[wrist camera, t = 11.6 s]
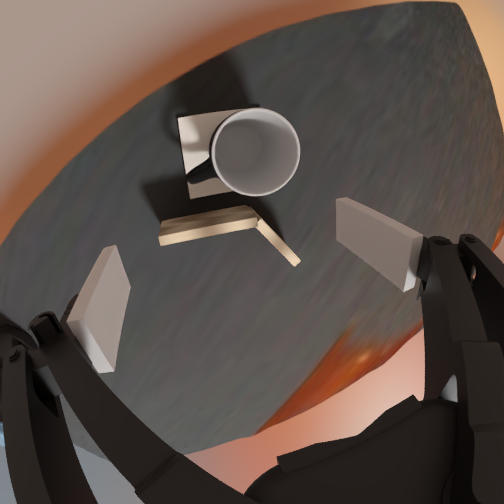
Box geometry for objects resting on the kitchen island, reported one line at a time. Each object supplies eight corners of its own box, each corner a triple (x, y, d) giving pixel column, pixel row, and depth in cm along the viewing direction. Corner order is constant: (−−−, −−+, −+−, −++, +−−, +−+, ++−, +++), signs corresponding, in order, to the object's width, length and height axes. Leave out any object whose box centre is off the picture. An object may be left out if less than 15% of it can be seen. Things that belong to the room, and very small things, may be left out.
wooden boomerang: (174, 270, 39) (173, 292, 34) (161, 221, 36) (158, 236, 31) (286, 247, 42) (301, 265, 37) (282, 198, 39) (299, 210, 34)
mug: (254, 104, 32) (280, 94, 23) (280, 162, 36) (313, 173, 27) (170, 144, 31) (165, 147, 23) (202, 202, 36) (209, 226, 27)
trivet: (190, 197, 36) (190, 199, 35) (177, 118, 31) (177, 118, 30) (268, 184, 37) (269, 185, 37) (260, 107, 33) (261, 107, 32)
